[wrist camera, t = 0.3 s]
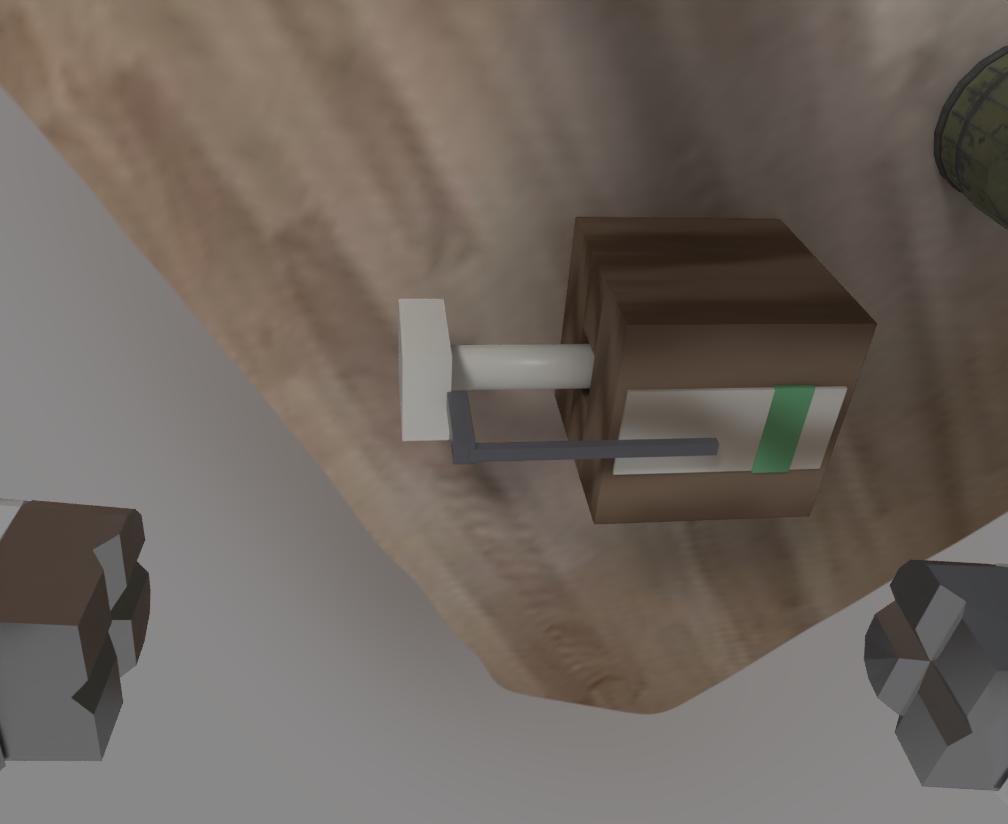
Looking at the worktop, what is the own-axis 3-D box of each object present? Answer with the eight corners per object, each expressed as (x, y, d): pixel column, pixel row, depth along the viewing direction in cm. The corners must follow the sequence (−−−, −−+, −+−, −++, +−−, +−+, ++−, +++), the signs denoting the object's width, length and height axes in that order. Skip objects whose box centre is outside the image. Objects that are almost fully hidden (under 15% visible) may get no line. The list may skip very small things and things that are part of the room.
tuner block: (576, 216, 50) (628, 327, 40) (780, 219, 51) (879, 326, 41) (554, 395, 56) (595, 527, 47) (735, 392, 58) (811, 519, 48)
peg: (398, 298, 48) (406, 412, 39) (685, 298, 50) (751, 406, 41) (398, 377, 51) (405, 499, 42) (670, 373, 53) (728, 488, 44)
